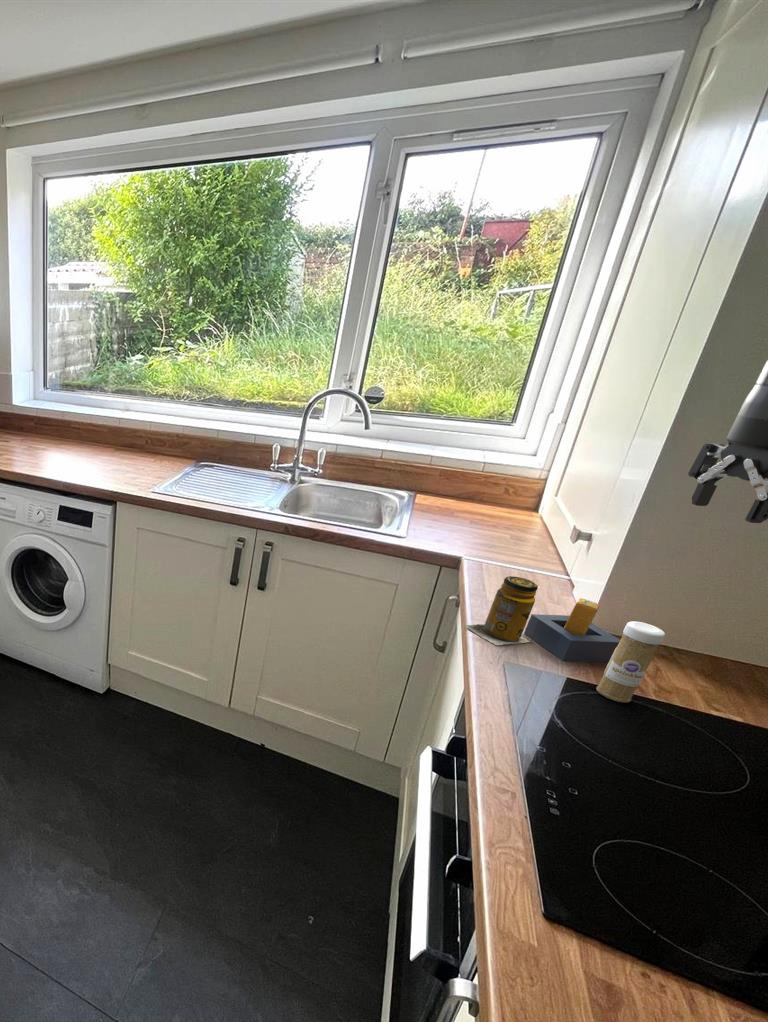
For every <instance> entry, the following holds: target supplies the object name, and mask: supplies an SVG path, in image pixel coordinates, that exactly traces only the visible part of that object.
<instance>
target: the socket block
mask: <svg viewBox="0 0 768 1022" xmlns="http://www.w3.org/2000/svg"><path fill="white" fill-rule="evenodd" d="M569 616H570V615H563V614H539V613H536V614H535V613H530V616H529V618H528V621H527V623H526V626H525V628H524V631H523V634H524V635H525V636H527V637H528V638H530V639H531V640H532V641H534V642H536V643H537V644H538V645H539V646H541V647H542V648H544V649H545V650H546V651H548V652H549V653H551V654H552V655H553V656H555V657H557V658H558V659H559V660H561V662H580V663H603V664H606V663H607V664H608V663H609V661H610V659H611V657H612V655H613V653H614V651H615V649H616V647H617V646H618V644H619V642H620V640H621V638H620V639H619V638H618V637H616V636H614V635H613V634H611V633H610V632H608V631H606V630H604V629H603V628H601V627H599V626H598V625H596V624H594V623H593V622H591V624H590V626H589V628H588V630H587V632H586V634H585V635H573V634H572V633H570V632H569V631H567V630H565V629H564V626H565V624H566V622H567V620H568V618H569Z"/></svg>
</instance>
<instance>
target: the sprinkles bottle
mask: <svg viewBox="0 0 768 1022" xmlns="http://www.w3.org/2000/svg"><path fill="white" fill-rule="evenodd" d="M622 632H623V633H622V637H621V638H620V642H619V644H618V646H617V647H616V649H615V651H614V653H613V655H612V657H611V659H610V661H609V663H607V665H606V668H605V669H604V672H603V676H602V677H601V679H600V682H599V684H598V685H597V686H596V691H597V693H599V695H601V696H603V697H605V698H606V699H608V700H611V701H614V702H617V703H624V704H626V703H630V702H631V701H632V699H633V696H634V694H635V692H636V690H637V688H638V687H639V685H640V683H641V682H642V679H643V678H644V676H645V674H646V672H647V670H648V668H649V666H650V664H651V662H652V660H653V657H654V654H655V653H656V651H657V649H658V647H659V646H660V645H661V644H662V643H663V640H664V638H665V637H666V633H665V631H663V630H662V629H661V628H660V627H658V626H655V625H652V624H649V623H646V622H642V621H634V620H633V621H628V622H627V623H626V625H625V627H624V629H623V631H622Z"/></svg>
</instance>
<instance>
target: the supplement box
mask: <svg viewBox="0 0 768 1022" xmlns="http://www.w3.org/2000/svg"><path fill="white" fill-rule="evenodd" d="M600 605H601V604H599V603H597V602H595V601H591V600H589V599H586V598H583V597H580V598H579V599H578V600H577V602H576V603H575V605H574V607H573V609H572V610H571V612H570V614H569V615H568V616H569V618H568V620H567V622H566V624H565V626H564V629H565V630H567V631H569V632H570V633H572V634H573V635H585V634H586V632H587V630H588V628H589V626H590V624H591V623H593V620H594V618H595V617H596V614H597V613H598V610H599V609H600Z"/></svg>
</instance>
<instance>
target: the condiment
mask: <svg viewBox="0 0 768 1022" xmlns="http://www.w3.org/2000/svg"><path fill="white" fill-rule="evenodd" d="M538 588H539V586H538V585H537V583H536V582H534V581H532V580H530V579H527V578H524V577H520V576H511V575H510V576H505V578H503V582H502V584H501V585H500V588H498V589H497V590H496V593H495V595H494V599H493V601H492V603H491V606H490V609H489V612H488V615H487V617H486V620H485V622H484V623H477V624H466V625H464V627H465V628H467V629H468V630H470V631H471V632H473V633H475V634H476V635H478V637H481V638H482V639H484V640H486V641H488V642H489V643H491V644H493V645H494V646H503V645H517V644H527V643H532V641H531V640H529V639H528V638H525V637H524V636H522V634H523V633H524V631H525V628H526V626H527V624H528V621H529V619H530V616H531V614H532V613H531V612H532V610H533V608H534V605H535V602H536V597H535V596H536V595H537V590H538Z"/></svg>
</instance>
